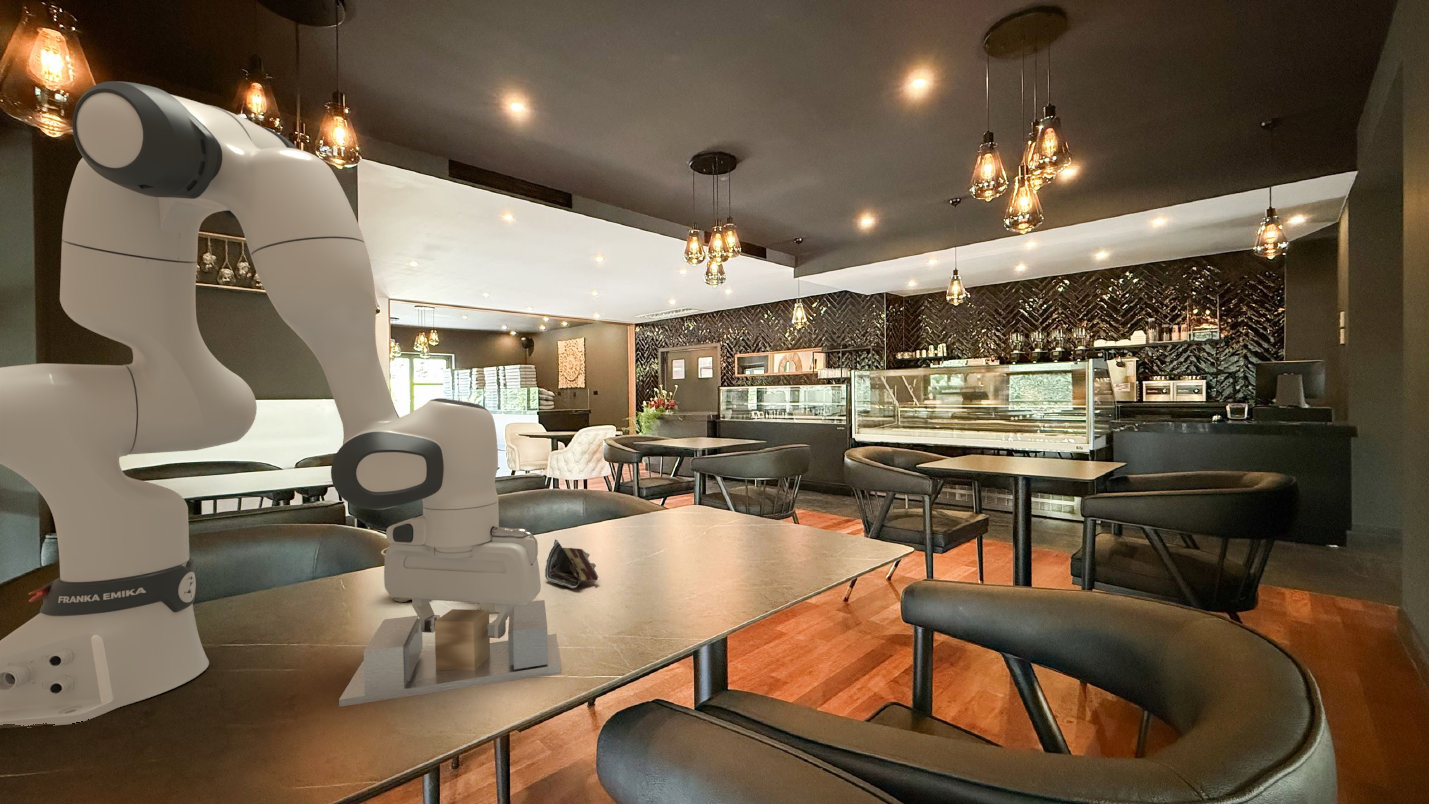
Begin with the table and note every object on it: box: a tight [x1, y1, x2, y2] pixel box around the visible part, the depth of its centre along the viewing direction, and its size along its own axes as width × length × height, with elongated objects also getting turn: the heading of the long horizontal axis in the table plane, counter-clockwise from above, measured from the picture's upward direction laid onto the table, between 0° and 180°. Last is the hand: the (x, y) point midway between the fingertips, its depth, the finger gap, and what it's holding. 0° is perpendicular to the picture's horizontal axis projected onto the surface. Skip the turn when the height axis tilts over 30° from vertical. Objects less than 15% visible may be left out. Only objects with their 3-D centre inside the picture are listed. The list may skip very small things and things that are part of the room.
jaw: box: [507, 599, 548, 669], centre depth 75 cm, size 5×10×5 cm, turn 18°
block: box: [434, 608, 491, 670], centre depth 73 cm, size 5×4×6 cm
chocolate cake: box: [544, 538, 599, 589], centre depth 109 cm, size 10×7×12 cm
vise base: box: [338, 614, 562, 707], centre depth 73 cm, size 24×10×6 cm, turn 108°
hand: (463, 633), depth 73 cm, fingers open, 8 cm apart
